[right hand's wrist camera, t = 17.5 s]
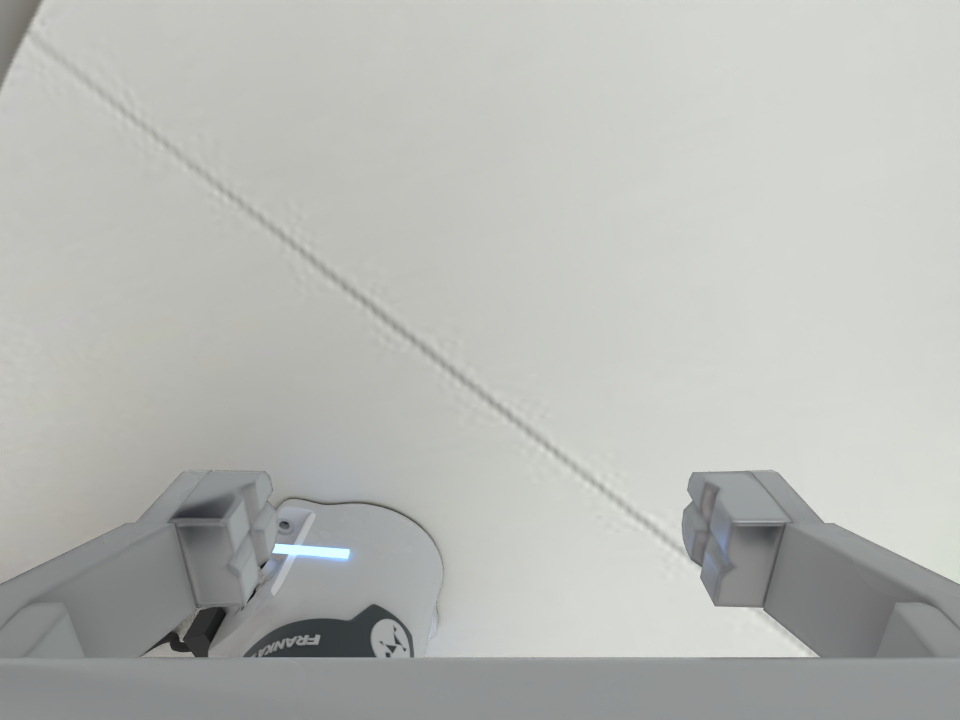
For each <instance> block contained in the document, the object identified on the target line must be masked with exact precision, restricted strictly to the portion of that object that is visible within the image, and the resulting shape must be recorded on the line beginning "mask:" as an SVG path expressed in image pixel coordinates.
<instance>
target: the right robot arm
mask: <svg viewBox="0 0 960 720" xmlns="http://www.w3.org/2000/svg"><path fill="white" fill-rule="evenodd" d="M272 491H273V488H272V484H271V479H270V476H269V475H268V474H267V473H266V472H265V471H221V470H215V471H212V470H189V471H185V472H182V473H181V474H180V475H179V476H178V477H177V478H176V480H175V481H174V482H173V483H172V484H171V485H170V486H169V487H168V488H167V489H166V490H165V491H164V493H163V494H162V495H161V496H160V497H159V498H158V499H157V500H156V501H155V502H154V503H153V504H152V506H151V507H150V508H149V509H148V510H147V511H146V512H145V513H144V514H143V515H142V516H141V517H140V519H139V520H138V521H137V522H136V523H126V524H124V525H122V526H120V527H118V528H116V529H114V530H112V531H110V532H107V533H105V534H103V535H101V536H99V537H97V538H95V539H93V540H91V541H89V542H87V543H85V544H83V545H81V546H78V547H76V548H74V549H72V550H70V551H68V552H66V553H64V554H62V555H60V556H58V557H56V558H54V559H52V560H49V561H47V562H45V563H43V564H41V565H39V566H37V567H35V568H33V569H31V570H29V571H27V572H25V573H23V574H21V575H18V576H16V577H14V578H12V579H10V580H8V581H6V582H4V583H2V584H0V720H960V584H958V583H956V582H954V581H952V580H950V579H947V578H945V577H943V576H941V575H939V574H937V573H935V572H933V571H931V570H929V569H927V568H925V567H923V566H921V565H919V564H916V563H914V562H912V561H910V560H908V559H906V558H904V557H902V556H900V555H898V554H896V553H894V552H892V551H890V550H888V549H886V548H883V547H881V546H879V545H877V544H875V543H873V542H871V541H869V540H867V539H865V538H863V537H861V536H859V535H857V534H855V533H853V532H850V531H848V530H846V529H844V528H842V527H840V526H838V525H836V524H834V523H824V522H823V521H822V520H821V519H820V517H819V516H818V515H817V514H816V513H815V512H814V511H813V510H812V509H811V508H810V507H809V506H808V504H807V503H806V502H805V501H804V500H803V499H802V498H801V497H800V496H799V495H798V494H797V493H796V491H795V490H794V489H793V488H792V487H791V486H790V485H789V484H788V483H787V482H786V481H785V479H784V478H783V477H782V476H781V475H780V474H779V473H778V472H775V471H773V470H753V471H728V472H693V473H692V475H691V477H690V479H689V483H688V488H687V491H688V493H689V495H690V496H691V498H692V500H693V501H692V502H691V503H690V504H689V505H688V506H687V507H686V508H685V509H684V511H683V519H682V534H683V541H684V544H685V548H686V550H687V553H688V555H689V557H690V559H691V560H692V561H694V562H695V563H697V564H698V565H699V566H701V567H702V570H701V576H700V578H701V580H702V582H703V584H704V586H705V588H706V590H707V592H708V594H709V596H710V598H711V600H712V602H713V603H714V605H715V606H724V607H760V608H764V609H763V610H764V611H765V612H767V613H768V614H769V615H770V616H771V617H773V618H774V619H775V620H776V621H777V622H779V623H780V624H781V625H782V626H783V627H785V628H786V629H787V630H788V631H790V632H791V633H792V634H793V635H794V636H796V637H797V638H798V639H799V640H800V641H802V642H803V643H804V644H805V645H807V646H808V647H809V648H810V649H811V650H813V651H814V652H815V653H816V654H817V655H819V656H820V657H473V658H425V655H426V650H427V646H428V641H429V639H431V638H432V637H434V636H435V634H436V631H437V627H438V613H437V608H436V602H437V598H438V595H439V592H440V589H441V586H442V582H443V563H442V559H441V556H440V553H439V551H438V549H437V547H436V545H435V543H434V542H433V540H432V539H431V538H430V536H429V535H428V534H427V533H426V532H425V531H424V530H423V529H422V528H421V527H420V526H418V525H417V524H416V523H415V522H413V521H412V520H410V519H409V518H407V517H405V516H403V515H401V514H399V513H397V512H395V511H392V510H389V509H386V508H383V507H379V506H375V505H369V504H356V503H352V504H337V505H321V504H318V503H314V502H310V501H306V500H300V499H288V500H286V501H284V502H283V503H282V504H281V505H280V506H279V507H278V508H277V510H276V509H275V508H274V507H273V506H272V505H271V504H270V503H269V502H268V501H267V500H268V498H269V496H270V495H271V493H272ZM283 521H286V522H288V523H289V524H286V523H284V522H283ZM200 607H202V609H203V610H200V612H199V613H198V615H197V616H196V618H195V620H194V621H193V623H192V625H191V626H190V628H189V630H188V631H187V633H186V635H185V636H184V638H183V641H184V642H180V640H179V636H178V634H176V633H169V632H171V631H172V630H173V629H174V628H176V627H177V626H178V625H179V624H180V623H182V622H183V621H184V620H185V619H186V618H188V617H189V616H190V615H191V614H193V613H194V612H195V611H196V610H197V609H196V608H200ZM167 642H170V646H171V649H172V650H174V651H178V652H192V653H193V654H194V656H195V657H141V656H142V655H144V654H145V653H147V652H148V651H150V650H152V649H153V648H155V647H157V646H159V645H161V644H163V643H167Z"/></svg>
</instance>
